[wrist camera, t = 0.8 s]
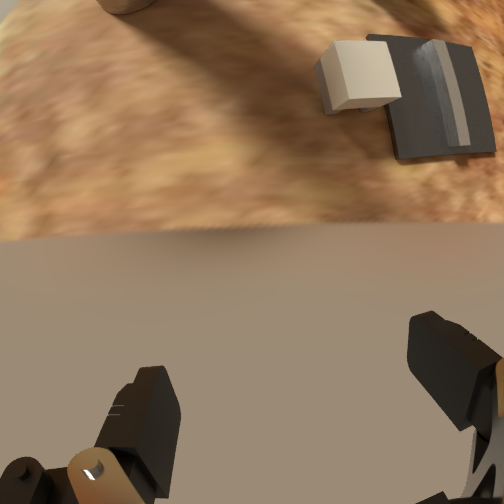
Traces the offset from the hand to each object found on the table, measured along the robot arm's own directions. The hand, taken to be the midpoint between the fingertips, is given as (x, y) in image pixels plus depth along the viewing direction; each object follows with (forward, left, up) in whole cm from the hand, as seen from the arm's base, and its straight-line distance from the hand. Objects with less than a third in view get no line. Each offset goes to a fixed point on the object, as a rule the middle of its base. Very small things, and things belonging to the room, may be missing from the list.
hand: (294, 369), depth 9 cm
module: (-15, +13, -26) cm, 33 cm away
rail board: (-14, +27, -26) cm, 40 cm away
